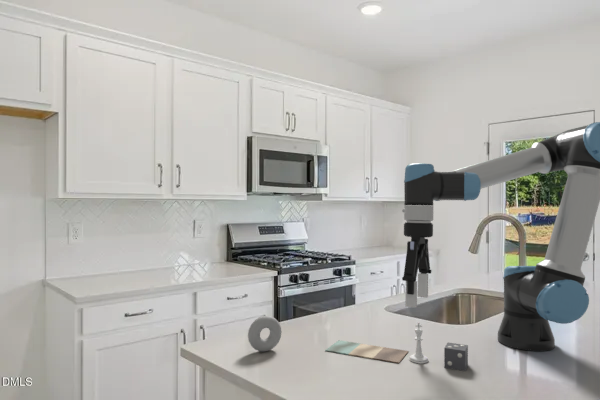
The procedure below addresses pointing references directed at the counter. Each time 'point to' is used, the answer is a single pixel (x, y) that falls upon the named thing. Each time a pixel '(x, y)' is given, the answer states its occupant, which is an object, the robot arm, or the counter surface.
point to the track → (368, 351)
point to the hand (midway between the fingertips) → (417, 301)
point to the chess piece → (418, 348)
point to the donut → (257, 327)
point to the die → (456, 356)
